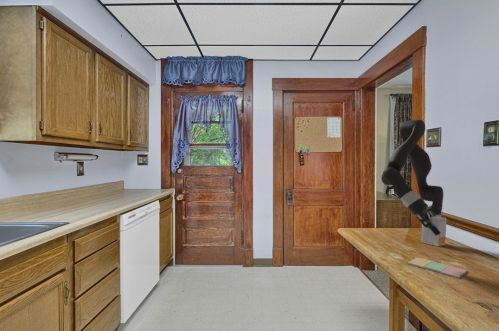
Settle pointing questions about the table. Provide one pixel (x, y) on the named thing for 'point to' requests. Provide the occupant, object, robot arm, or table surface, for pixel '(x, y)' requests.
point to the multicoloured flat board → (438, 267)
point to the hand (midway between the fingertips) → (441, 233)
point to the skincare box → (441, 226)
